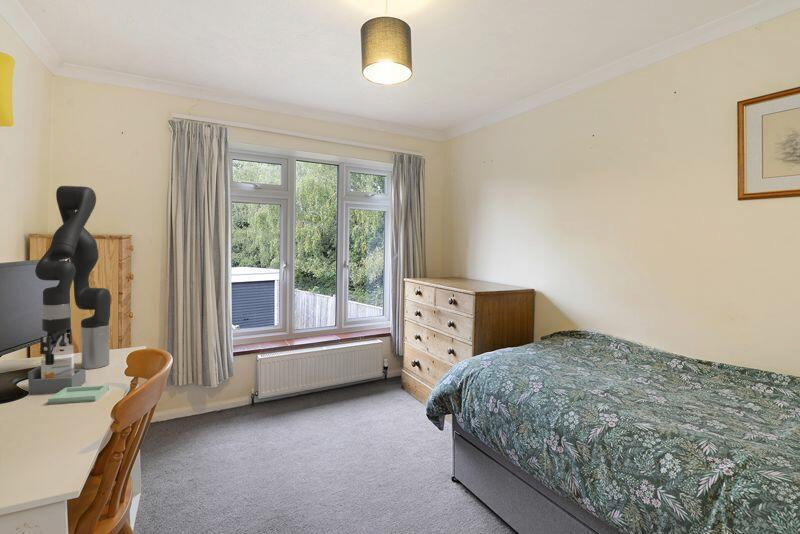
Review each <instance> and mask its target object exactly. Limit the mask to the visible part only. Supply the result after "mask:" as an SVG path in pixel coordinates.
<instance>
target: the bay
mask: <svg viewBox="0 0 800 534" xmlns="http://www.w3.org/2000/svg"><path fill="white" fill-rule="evenodd" d="M86 375H87V374H86V369H85V368H82V369H74V375H72V376H71V377H64V378H46V379H41V365H38V366H37V367H34V368H33V369H32V370H29V371H27V377H28V384H27V385H28V395H40V394H41V395H43V394H57V393H58V392H60V391H61V390H63V389H64V388H66V387H81V386H82V385H83V384H85V383H86V381H87V379H86V378H87V377H86Z"/></svg>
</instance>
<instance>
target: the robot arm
mask: <svg viewBox="0 0 800 534" xmlns="http://www.w3.org/2000/svg"><path fill="white" fill-rule="evenodd" d="M55 191H56V192H55V196H56V197H55V198H56V203H57V207H58V211H59V213H60V217H61V220H62V224H61V225H60V226H59V227H58V229H56V230H55V232H54V234H53V236H52V238H51V242H50V245H49V248H48V249H47V251H46V252H45V253H44V255H43V256H42V257H41V258H40V260H39V261H38V262H37V264H36V265H35V271H34V273H35V276H36V277H37V278H38V279H39V280H41V281H50V282H51V281H58V283H57V285H56V286H51V287H46V288H45V289H43V291H42V310H41V328H42V331H43V332H46V333H47V334H46V335H45V336H40V341H39V343H40V344H39V347H40V348H39V353H40V354H39V355H45V364H46V365H53V364H54V352H56V350H55V349H56V348H58V347H61V346H70V345H72V344H73V336H72V333H73V331H72V328H71V325H72V324H71V323H72V322H71V317H72V316H71V306H70V305H71V304H70V291H71V288H72V283H73V295H74V303H75V306H76V307H77V308H78V309H79V310H85V311H86V310H87V311H94V313H93V315H91V316H90V317H86V318H83V319H81V321H80V344H81V345H80V346H81V347H80V350H81V368H82V369H85V370H86V369H87V370H90V369H91V370H92V369H97V368H103V367H106V366H108V365H110V318H111V306H112V305H111V304H112V303H111V302H112V297H111V292H110V290H109V289H107V288H106V287H90V280H89V279H90V276H91V274H92V273H91V272H92V271H93V270H94V268H95V267H96V264H97V263H98V260H99V248H98V244H97V243H98V242H97V240H96V239H95V237H94V236H93V235H92V234H91V233H90V232H89V231H88V229H87V228H85V225H86V224H87V223H88V221H89V219H90V217H91V215H92V213H93V211H94V210H95V206H96V203H97V195H96V192H95V191H94V189H92V188H91V187H88V186H82V185H81V186H79V185H78V186H77V185H76V186H73V185H60V186H58V187H57V189H56V190H55ZM65 259H69V260H70V261H68V260H65ZM44 348H45V350H44ZM51 348H52V349H51ZM59 351H64V350H63V349H62V350H60V349H59Z"/></svg>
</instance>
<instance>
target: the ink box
mask: <svg viewBox="0 0 800 534" xmlns="http://www.w3.org/2000/svg"><path fill="white" fill-rule="evenodd" d="M51 349H52V348H51ZM62 349H63V350H64V351H60V350H62ZM44 350H45V347H44ZM57 350H59V351H57ZM43 355H44V354H43ZM40 366H41V379H46V378H64V377H71V376H72V375H74V370H75V353H74V345H69V346H61V347H60V346H58V348H56V349H55V351H54V364H53V365H46V364H45V355H44V356H43V357H42V358H41V360H40Z"/></svg>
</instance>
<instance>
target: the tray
mask: <svg viewBox="0 0 800 534" xmlns="http://www.w3.org/2000/svg"><path fill="white" fill-rule="evenodd" d="M109 390H110V385H109V384H101V385H85V386H82V385H81V386H79V387H66V388H64V389H63V390H61V391H60V392H58V393H54V395H52V396H50V397H49V398H48V399H47V400H48V401H47V403H48V405H57V404H59V405H60V404H73V403H74V404H75V403H87V402H88V403H89V402H96V401H97V400H99V398H101V397H102V396H104V394H105V393H107V392H108V391H109Z"/></svg>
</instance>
